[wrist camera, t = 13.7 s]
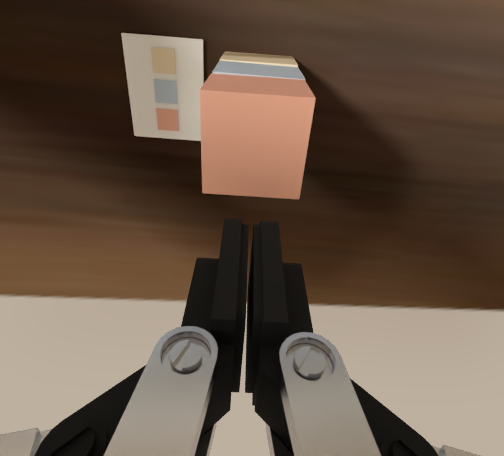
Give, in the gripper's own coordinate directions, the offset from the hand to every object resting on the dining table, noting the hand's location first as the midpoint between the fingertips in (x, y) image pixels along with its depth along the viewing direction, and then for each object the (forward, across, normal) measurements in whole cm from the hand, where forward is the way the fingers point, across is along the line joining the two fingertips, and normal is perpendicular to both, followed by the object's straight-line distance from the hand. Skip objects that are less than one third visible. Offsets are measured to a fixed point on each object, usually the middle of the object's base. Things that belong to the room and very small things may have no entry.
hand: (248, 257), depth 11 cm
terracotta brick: (+15, 0, 0) cm, 15 cm away
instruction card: (+25, +8, +1) cm, 26 cm away
